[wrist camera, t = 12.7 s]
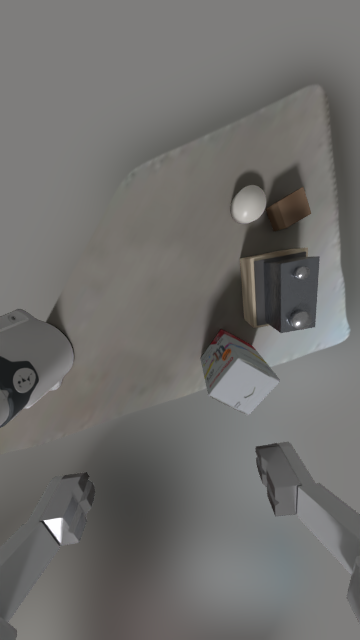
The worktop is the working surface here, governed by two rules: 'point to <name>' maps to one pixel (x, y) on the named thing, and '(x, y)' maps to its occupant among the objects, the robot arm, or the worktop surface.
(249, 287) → the stand
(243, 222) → the white egg shape
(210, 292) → the worktop surface
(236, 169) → the worktop surface
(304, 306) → the block
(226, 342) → the ink box
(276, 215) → the walnut block
